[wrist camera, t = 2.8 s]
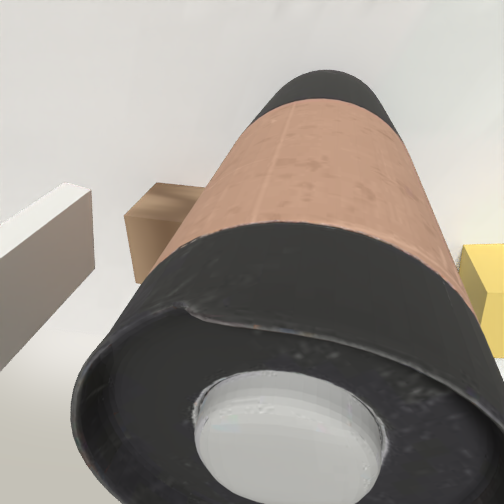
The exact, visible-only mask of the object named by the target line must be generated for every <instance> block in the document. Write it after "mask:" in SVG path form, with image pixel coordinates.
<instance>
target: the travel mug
mask: <svg viewBox="0 0 504 504" xmlns="http://www.w3.org/2000/svg"><path fill="white" fill-rule="evenodd" d="M71 427H72V433H73V437H74V440H75V442H76V445H77V448H78V450H79V452H80V454H81V456H82V458H83V459H84V461H85V463H86V465H87V466H88V467H89V469H90V470H91V471H92V473H93V474H94V475H95V477H96V478H97V480H99V482H100V483H101V484H102V485H103V486H104V487H105V488H106V489H107V490H108V491H109V492H110V493H111V494H112V495H113V496H114V497H115V498H116V499H118V500H119V501H120V502H121V503H122V504H504V381H503V379H502V376H501V374H500V371H499V369H498V367H497V364H496V362H495V359H494V357H493V355H492V352H491V350H490V347H489V345H488V343H487V340H486V338H485V335H484V333H483V331H482V329H481V326H480V323H479V321H478V319H477V316H476V314H475V311H474V309H473V307H472V304H471V302H470V299H469V297H468V295H467V292H466V290H465V287H464V285H463V283H462V280H461V278H460V275H459V273H458V270H457V268H456V266H455V263H454V261H453V258H452V256H451V254H450V251H449V249H448V246H447V244H446V242H445V239H444V237H443V234H442V232H441V230H440V227H439V225H438V222H437V220H436V217H435V215H434V213H433V210H432V208H431V205H430V203H429V201H428V198H427V196H426V193H425V191H424V189H423V186H422V184H421V181H420V179H419V177H418V174H417V172H416V169H415V167H414V164H413V162H412V160H411V157H410V155H409V153H408V151H407V149H406V147H405V145H404V143H403V141H402V139H401V138H400V136H399V134H398V132H397V131H396V129H395V127H394V125H393V124H392V122H391V120H390V118H389V117H388V115H387V113H386V111H385V110H384V108H383V106H382V104H381V103H380V101H379V100H378V98H377V97H376V95H375V94H374V93H373V91H372V90H371V89H370V88H369V87H368V86H367V85H366V84H364V83H363V82H362V81H361V80H359V79H357V78H356V77H354V76H352V75H349V74H347V73H344V72H340V71H335V70H318V71H312V72H309V73H306V74H303V75H301V76H298V77H296V78H294V79H293V80H291V81H290V82H288V83H287V84H286V85H285V86H283V87H282V88H281V89H280V90H279V91H278V92H277V93H276V94H275V95H274V97H273V98H272V99H271V100H270V101H269V102H268V103H267V105H266V106H265V107H264V108H263V109H262V111H261V112H260V113H259V114H258V115H257V117H256V118H255V119H254V120H253V121H252V122H251V124H250V125H249V126H248V127H247V128H246V130H245V131H244V132H243V133H242V134H241V136H240V137H239V138H238V140H237V141H236V143H235V144H234V146H233V147H232V149H231V150H230V152H229V153H228V155H227V156H226V158H225V159H224V161H223V162H222V164H221V165H220V167H219V168H218V170H217V171H216V173H215V174H214V176H213V177H212V179H211V180H210V182H209V183H208V185H207V186H206V188H205V189H204V191H203V192H202V194H201V195H200V197H199V198H198V200H197V201H196V203H195V204H194V206H193V207H192V209H191V210H190V212H189V213H188V215H187V216H186V218H185V219H184V221H183V222H182V224H181V225H180V227H179V228H178V230H177V231H176V233H175V235H174V236H173V238H172V239H171V241H170V242H169V244H168V245H167V247H166V248H165V250H164V251H163V253H162V254H161V256H160V257H159V259H158V260H157V262H156V263H155V265H154V266H153V268H152V269H151V271H150V272H149V274H148V275H147V277H146V278H145V280H144V281H143V283H142V284H141V286H140V287H139V289H138V290H137V292H136V293H135V295H134V296H133V298H132V299H131V300H130V302H129V303H128V305H127V306H126V308H125V309H124V311H123V312H122V314H121V315H120V317H119V318H118V320H117V321H116V323H115V324H114V326H113V327H112V329H111V330H110V332H109V333H108V334H107V336H106V337H105V338H104V339H103V341H102V342H101V343H100V344H99V345H98V346H97V348H96V349H95V350H94V351H93V352H92V354H91V355H90V356H89V358H88V359H87V361H86V362H85V363H84V365H83V367H82V369H81V371H80V372H79V375H78V377H77V380H76V383H75V386H74V389H73V394H72V401H71Z"/></svg>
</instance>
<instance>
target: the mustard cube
mask: <svg viewBox="0 0 504 504" xmlns="http://www.w3.org/2000/svg"><path fill="white" fill-rule="evenodd" d="M459 275H460V278H461V280H462V283H463V285H464V287H465V290H466V292H467V295H468V297H469V299H470V302H471V304H472V307H473V309H474V311H475V314H476V316H477V319H478V321H479V323H480V326H481V329H482V331H483V333H484V335H485V338H486V340H487V343H488V345H489V347H490V350H491V352H492V355H493V357H494V358H504V244H472V245H463V249H462V255H461V262H460V268H459Z"/></svg>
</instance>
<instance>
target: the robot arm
mask: <svg viewBox="0 0 504 504" xmlns="http://www.w3.org/2000/svg"><path fill="white" fill-rule="evenodd" d="M94 269H95V259H94V238H93V217H92V195H91V189H87V188H84V187H80V186H77V185H73V184H70V183H66V182H64V183H63V184H61V185H59V186H58V187H56V188H55V189H53V190H52V191H50V192H49V193H47V194H46V195H44V196H43V197H41V198H40V199H38V200H37V201H35V202H34V203H32V204H31V205H29V206H28V207H26V208H25V209H23V210H22V211H20V212H19V213H17V214H16V215H14V216H13V217H11V218H10V219H8V220H7V221H5V222H3V223H2V224H0V371H1V370H2V369H3V368H4V367H5V366H6V365H7V364H8V363H9V362H10V360H11V359H12V358H13V357H14V356H15V355H16V354H17V353H18V352H19V351H20V349H22V347H23V346H24V345H25V344H26V343H27V342H28V341H29V340H30V339H31V338H32V337H33V336H34V334H35V333H36V332H37V331H38V330H39V329H40V328H41V327H42V326H43V325H44V324H45V322H46V321H47V320H48V319H49V318H50V317H51V316H52V315H53V314H54V313H55V312H56V310H57V309H58V308H59V307H60V306H61V305H62V304H63V303H64V302H65V301H66V300H67V298H68V297H69V296H70V295H71V294H72V293H73V292H74V291H75V290H76V289H77V288H78V286H79V285H80V284H81V283H82V282H83V281H84V280H85V279H86V278H87V277H88V276H89V275H90V273H91V272H92V271H93V270H94Z"/></svg>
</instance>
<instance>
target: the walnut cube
mask: <svg viewBox="0 0 504 504" xmlns="http://www.w3.org/2000/svg"><path fill="white" fill-rule="evenodd" d="M204 189H205V188H204V187H194V186H185V185H175V184H165V183H156V184H155V185H154V186H153V187H152V188H151V189H150V190H149V191H148V192H147V193H146V194H145V195H144V196H143V197H142V198H141V199H140V200H139V201H138V202H137V203H136V204H135V205H134V206H133V207H132V208H131V209H130V210H129V211H128V212H127V213H126V214H125V215H124V219H125V224H126V230H127V236H128V241H129V247H130V253H131V258H132V264H133V270H134V275H135V281H136V283H139V284H142V283H143V281H144V280H145V278H146V277H147V275H148V274H149V272H150V271H151V269H152V268H153V266H154V265H155V263H156V262H157V260H158V259H159V257H160V256H161V254H162V253H163V251H164V250H165V248H166V247H167V245H168V244H169V242H170V241H171V239H172V238H173V236H174V235H175V233H176V231H177V230H178V228H179V227H180V225H181V224H182V222H183V221H184V219H185V218H186V216H187V215H188V213H189V212H190V210H191V209H192V207H193V206H194V204H195V203H196V201H197V200H198V198H199V197H200V195H201V194H202V192H203V191H204Z"/></svg>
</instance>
